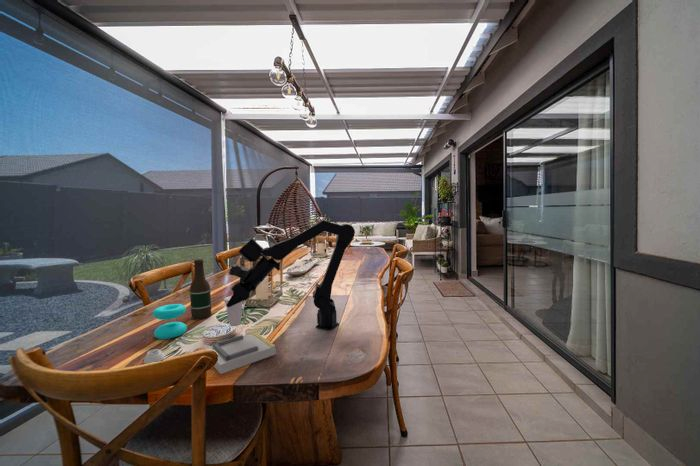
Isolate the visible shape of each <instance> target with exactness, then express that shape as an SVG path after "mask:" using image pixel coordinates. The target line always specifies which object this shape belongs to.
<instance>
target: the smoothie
mask: <svg viewBox="0 0 700 466" xmlns="http://www.w3.org/2000/svg"><path fill="white" fill-rule="evenodd" d="M231 297H232V295H230V296H227V297H224V300H223V301H224V303H225V308H226V312H227V317H228V324H229V326H231V327H237V326H240V325H241V324H242V315H243V312H242V311H243V302H244V301H242V302H239V303H237V304H235V305H233V306H231V307H227V306H226V305H227V303H228V302H229V300H230V298H231Z"/></svg>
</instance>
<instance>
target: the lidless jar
mask: <svg viewBox="0 0 700 466" xmlns="http://www.w3.org/2000/svg"><path fill="white" fill-rule="evenodd" d="M144 357H145V358H144V360H143V364H144V365H147V364H146V363H150V362H156V361H160V362H162V361H163V360H164V359H165V355H164V353H163V352H162V351H161V350H160V349H158V348H154V349H151V350H148V351H147V353H146V355H145V356H144ZM161 360H162V361H161Z"/></svg>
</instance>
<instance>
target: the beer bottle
mask: <svg viewBox="0 0 700 466" xmlns="http://www.w3.org/2000/svg"><path fill="white" fill-rule="evenodd" d="M193 264H194V268H193V269H194V276H193V280H192V282H191V283H190V286H189V297H190V313H191V318H192V320H198V319H199V320H203V319H207V318H209V317H211V316H212V300H211V299H212V298H211V288H210V287H211V285H210V283H209V282H208V280H207V279H206V276H205V270H204V260H203V259H194V260H193Z"/></svg>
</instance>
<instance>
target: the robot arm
mask: <svg viewBox="0 0 700 466" xmlns="http://www.w3.org/2000/svg"><path fill="white" fill-rule="evenodd" d="M324 232H327V233H329V234H333V235H336V239H335V245H334V248H333V251H332V254H331V256H330V260H329V262H328V263H327V267H326V270H325V273H324V275H323V279H322V281H321V282H320V283H315V287H314V289H313V292H312V298H313V304H314V306H315V307H316V308H317V313H316V317H317V318H316V322H317V323H316V325H315V328H317V329H323V330H327V331H331V330H333V329H334V328H336V327H337V326H339V324H340V323H339V322H337V321H338V320H337V317H338V316H337V309H336V308H337V307H336V305H335V304H336V303H335V300H334V299H332V298H331V296H332V288H333V284H334V281H335V278H336V275H337V273H338V270H339V269H340V265H341V261H342V259H343V257H344V255H345V252H346V249H348V247H349V245H350V243H351V242H352V240H353V239H354V236H355V233H356V232H355V228H354V226H353V225H351V224H348V223H343V224H338V223H337V224H336V223H333V222H330V221H327V220H325V219H324V220H320V221H318V223H316V224H314V225H313V226H311V227H309V228H307V229H306V230H304V231H302V232H300V233H298V234H297V235H295V236H294V237H291V238H287V239H284V240H282V241H279V242H276V243H275V244H273V245H272V246H269V247H268V246H267V247H264V248H263V247H262V245H260V244H259V243H258V242H257V240H255V239H254V238H251V239H250V240H249V241H248V242H247V243H245V244H244V245H243V246H241V248H240V249H239V250H238V253H239V254H240V255H241V256H242V257H243V258H244V259H246V260H247V261H248V262H249V263H255V264H254V266H252V267H251V268H247V267H246V266H243V265H240V264H237V263H234V264H233V263H232V264H231V267H230V268H229V271H228V274H229V275H230V276H234V277H237V278H238V279H239V278H240V279H239V281H237V282H236V283H235V284H233V286H232V287H231V288H230V289H231V291H232V295H231V296H232V297H231V298H230V300H229V302H228V303H227V305H226V304H225V307H226V306H227V307H231V306H233V305H235V304H237V303H239V302H242V301H243V302H245V301H247V300H248V299H249V298H250V297H251V296H252V293H253V292H254V291H255V289H257V288H258V286H260V284H261V283H262V282H263V281H264V280H265V279H266V278H267V276H268V275H269V274H271V272H272V271H273V270H274V269H276V270H277V271H281V260H283V259H285V258H286V257H287V256H288V255H290V254H291V253H292V252H293V251H294V250H295V249H297V248H298V247H300V246H301V245H303V244H305V243H306V242H308V241H310V240H312V239H314V238H315V237H317V236H318V235H320V234H322V233H324ZM269 257H270V258H269ZM256 262H257V263H256ZM243 302H242V303H243Z"/></svg>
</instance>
